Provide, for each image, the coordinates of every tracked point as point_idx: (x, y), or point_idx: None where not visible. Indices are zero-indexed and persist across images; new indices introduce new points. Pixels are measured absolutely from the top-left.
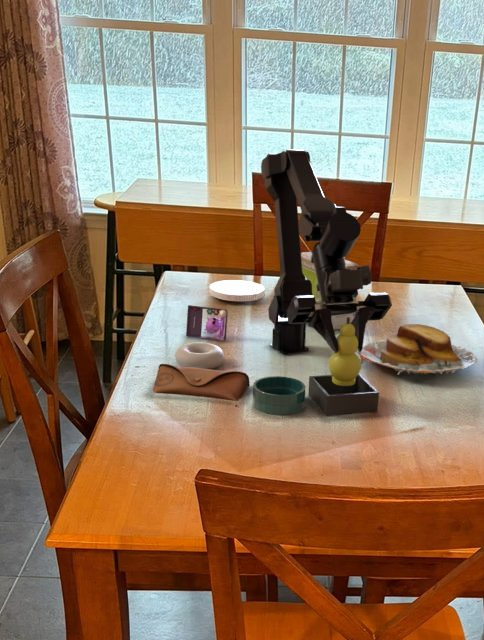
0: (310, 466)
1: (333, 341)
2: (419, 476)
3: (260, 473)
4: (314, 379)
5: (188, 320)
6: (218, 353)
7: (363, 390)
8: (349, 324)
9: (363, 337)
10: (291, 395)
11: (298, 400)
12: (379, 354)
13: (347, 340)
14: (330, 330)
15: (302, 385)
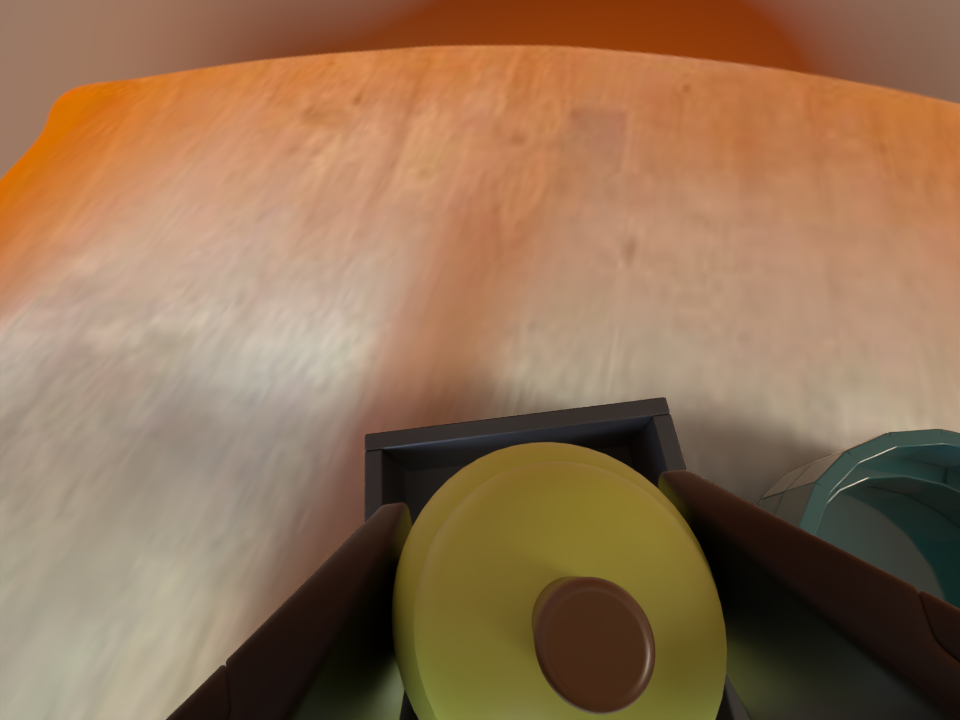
0: (718, 124)
1: (762, 510)
2: (427, 81)
3: (869, 96)
4: (735, 700)
5: None
6: None
7: None
8: (545, 560)
9: (305, 586)
10: (878, 437)
11: (811, 467)
12: None
13: (573, 458)
14: (926, 622)
15: None
